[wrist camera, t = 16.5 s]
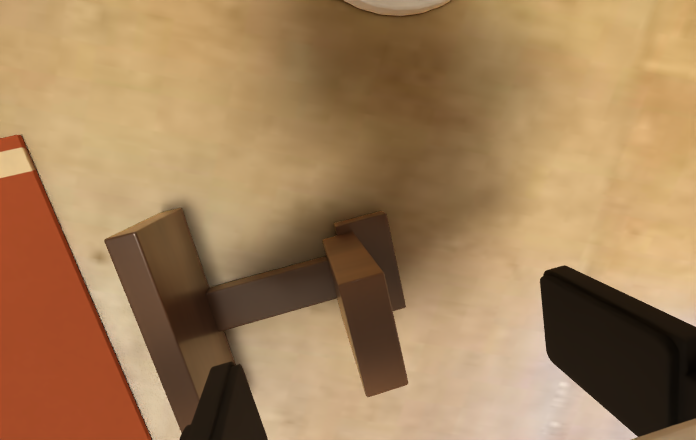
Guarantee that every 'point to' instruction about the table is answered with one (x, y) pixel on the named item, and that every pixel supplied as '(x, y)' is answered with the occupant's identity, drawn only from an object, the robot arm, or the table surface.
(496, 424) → the table surface
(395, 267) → the rod with end plates
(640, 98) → the table surface
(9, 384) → the towel
